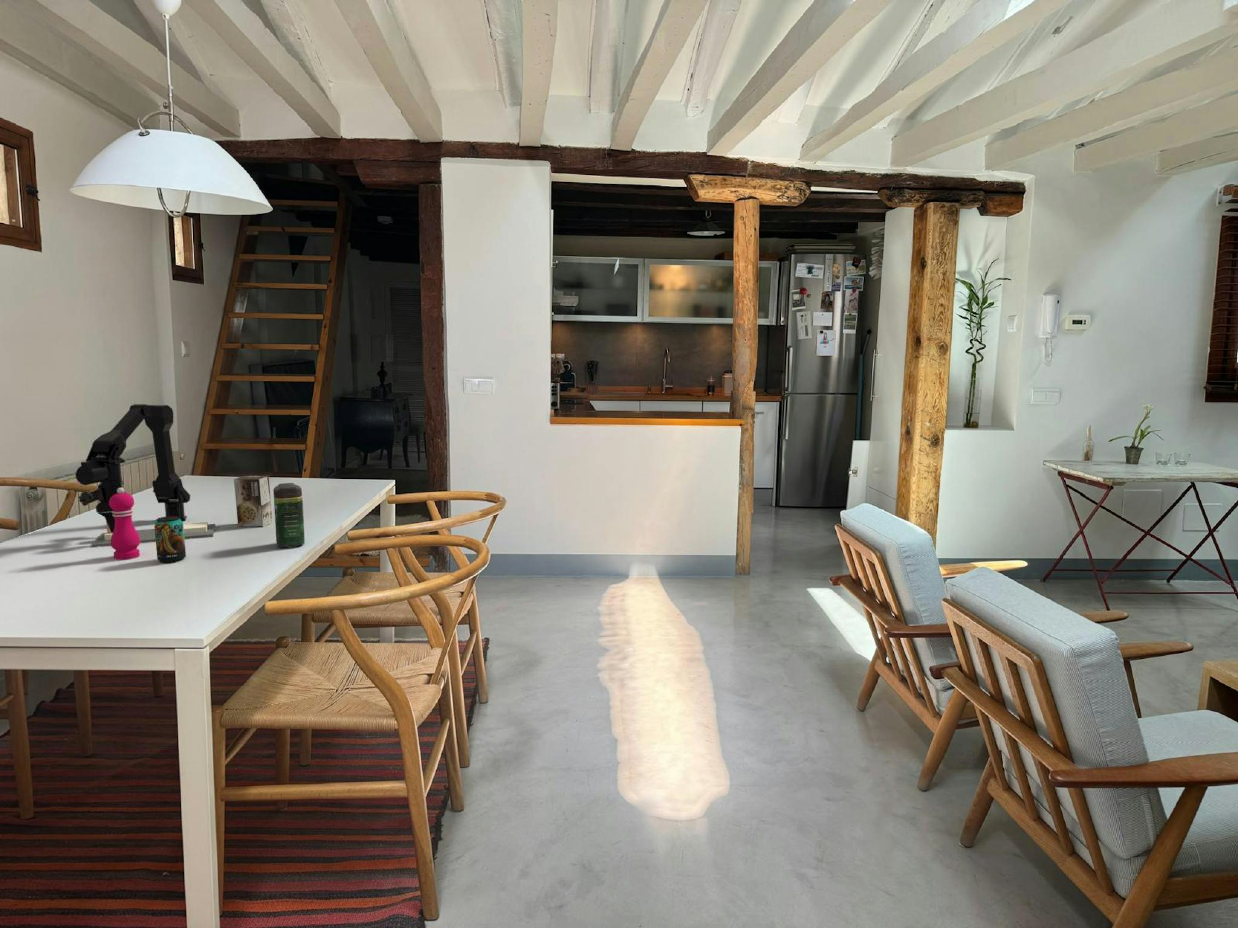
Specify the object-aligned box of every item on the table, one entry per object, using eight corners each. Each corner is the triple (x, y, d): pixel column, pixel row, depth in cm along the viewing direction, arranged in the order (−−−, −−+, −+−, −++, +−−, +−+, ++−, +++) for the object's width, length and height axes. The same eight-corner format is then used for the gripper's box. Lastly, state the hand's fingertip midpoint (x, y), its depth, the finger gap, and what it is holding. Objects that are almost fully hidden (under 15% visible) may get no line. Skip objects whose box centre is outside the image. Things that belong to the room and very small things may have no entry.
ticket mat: (102, 535, 253) (101, 527, 253) (215, 526, 266) (215, 518, 266) (92, 547, 239) (91, 538, 238) (212, 536, 252) (212, 528, 251)
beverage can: (157, 564, 220) (153, 521, 218) (158, 558, 226) (154, 517, 224) (186, 561, 223) (182, 519, 221) (186, 555, 229) (182, 514, 227)
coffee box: (273, 522, 271) (270, 475, 268) (263, 527, 265) (259, 478, 262) (247, 522, 272) (244, 475, 269) (236, 526, 265) (233, 478, 263)
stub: (109, 534, 251) (107, 517, 250) (131, 532, 253) (129, 515, 252) (104, 540, 243) (103, 522, 243) (127, 538, 246) (126, 520, 245)
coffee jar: (306, 546, 239) (303, 485, 236) (278, 549, 235) (274, 487, 233) (303, 539, 247) (299, 480, 245) (275, 542, 244) (271, 482, 241)
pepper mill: (147, 554, 230) (141, 486, 227) (125, 561, 223) (118, 490, 220) (128, 552, 232) (122, 484, 229) (105, 559, 226) (98, 489, 223)
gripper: (85, 476, 251) (90, 525, 253) (73, 486, 234) (78, 538, 236) (127, 474, 255) (131, 522, 257) (117, 483, 238) (122, 534, 240)
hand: (115, 529), depth 248 cm, fingers open, 9 cm apart
